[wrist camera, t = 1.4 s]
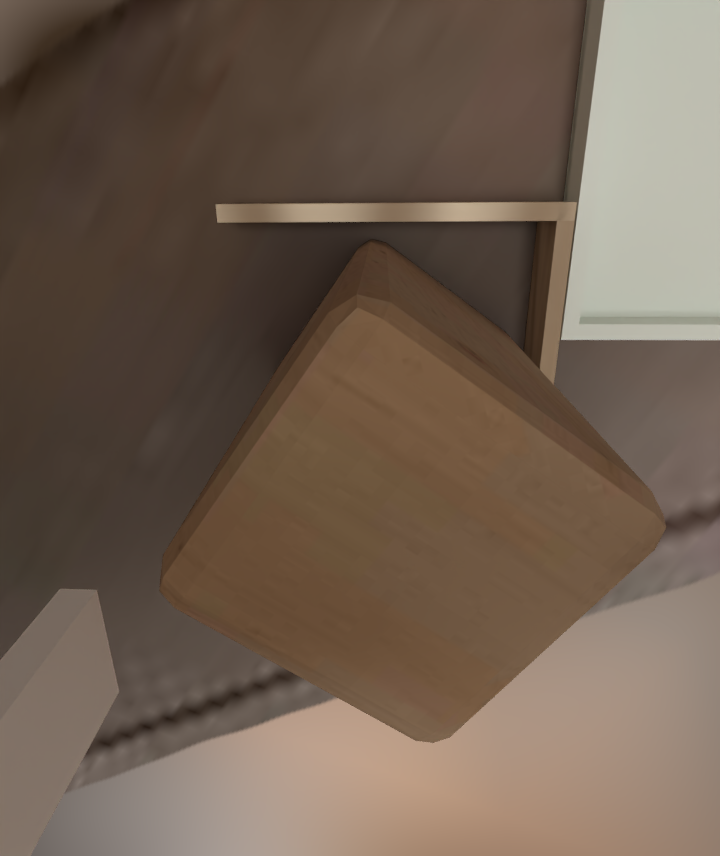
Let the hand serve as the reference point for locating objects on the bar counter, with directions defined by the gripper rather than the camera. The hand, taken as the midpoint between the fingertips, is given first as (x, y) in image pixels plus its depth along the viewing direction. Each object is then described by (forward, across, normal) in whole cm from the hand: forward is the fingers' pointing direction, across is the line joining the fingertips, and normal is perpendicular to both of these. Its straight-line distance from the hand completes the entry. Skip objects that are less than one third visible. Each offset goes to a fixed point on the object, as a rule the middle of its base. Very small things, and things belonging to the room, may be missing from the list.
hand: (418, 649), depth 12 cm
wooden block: (+23, 0, 0) cm, 23 cm away
